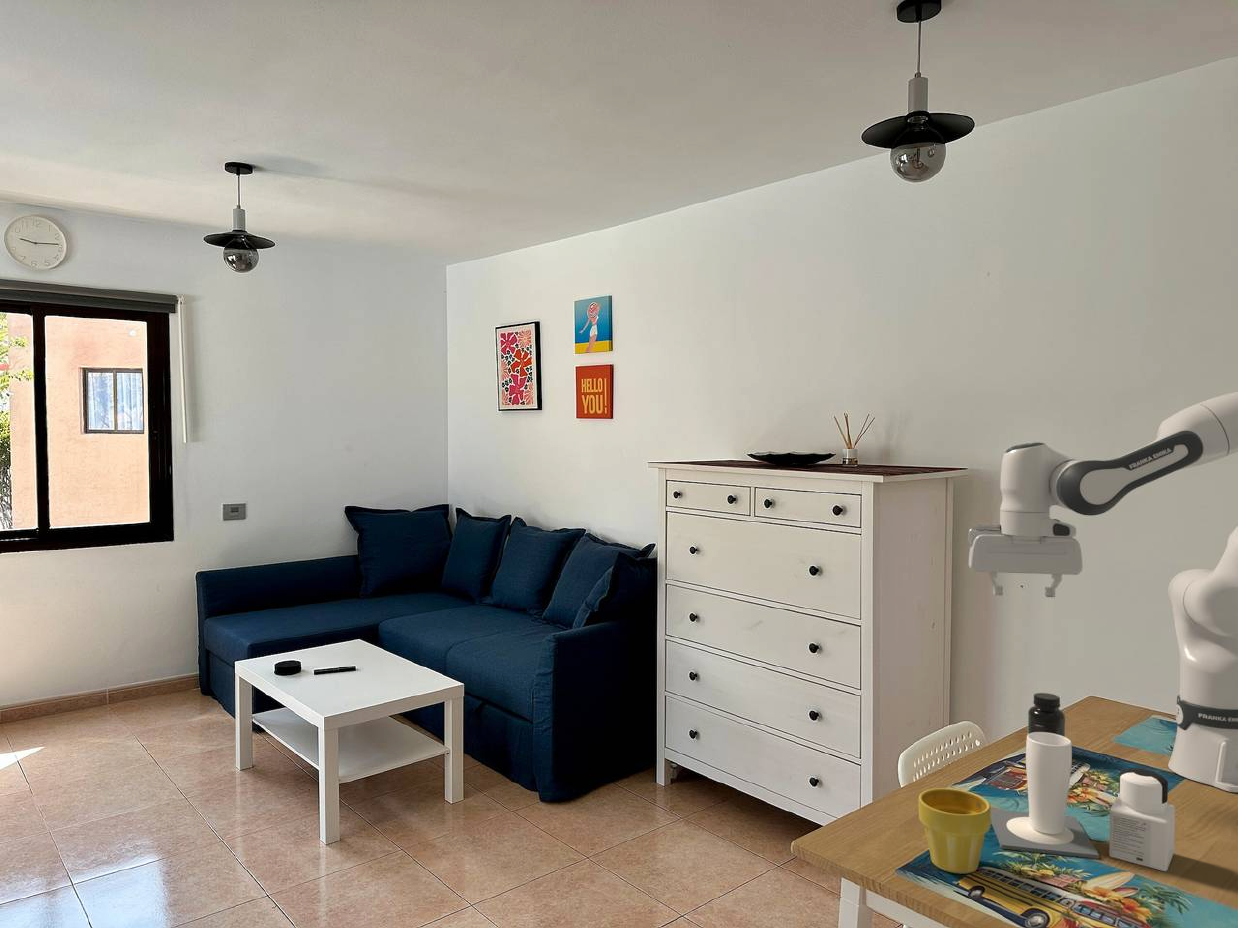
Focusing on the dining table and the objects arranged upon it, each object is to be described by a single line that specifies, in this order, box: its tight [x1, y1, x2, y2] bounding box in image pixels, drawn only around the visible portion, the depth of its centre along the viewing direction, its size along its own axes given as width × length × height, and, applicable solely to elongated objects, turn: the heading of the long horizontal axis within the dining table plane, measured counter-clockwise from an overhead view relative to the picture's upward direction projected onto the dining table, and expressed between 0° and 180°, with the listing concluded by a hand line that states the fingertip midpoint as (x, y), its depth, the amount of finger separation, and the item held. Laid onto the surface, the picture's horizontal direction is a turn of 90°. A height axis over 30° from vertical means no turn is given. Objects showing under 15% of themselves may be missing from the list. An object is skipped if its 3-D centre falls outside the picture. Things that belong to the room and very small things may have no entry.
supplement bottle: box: [1027, 692, 1066, 737], centre depth 180 cm, size 7×7×12 cm
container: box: [1108, 767, 1176, 872], centre depth 136 cm, size 8×8×13 cm
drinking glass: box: [1025, 732, 1073, 834], centre depth 144 cm, size 7×7×15 cm
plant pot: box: [918, 787, 992, 875], centre depth 134 cm, size 10×10×10 cm
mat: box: [990, 808, 1100, 860], centre depth 144 cm, size 14×14×1 cm
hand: (1023, 595), depth 172 cm, fingers open, 8 cm apart
